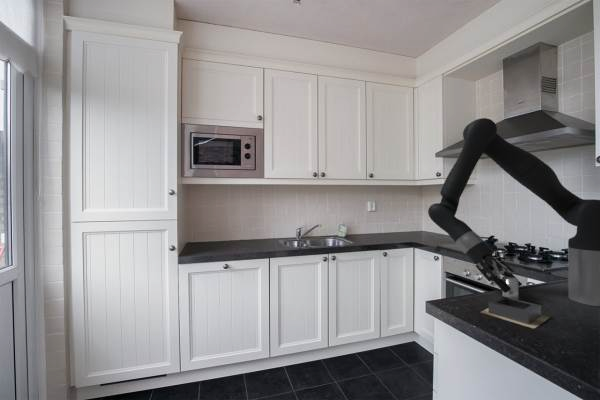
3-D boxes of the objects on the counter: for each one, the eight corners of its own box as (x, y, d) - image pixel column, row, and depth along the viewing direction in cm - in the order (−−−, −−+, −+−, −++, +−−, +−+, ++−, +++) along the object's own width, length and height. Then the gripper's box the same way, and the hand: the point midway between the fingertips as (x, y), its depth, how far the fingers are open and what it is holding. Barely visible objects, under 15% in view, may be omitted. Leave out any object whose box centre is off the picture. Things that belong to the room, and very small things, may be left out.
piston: (505, 300, 88) (505, 276, 88) (520, 304, 85) (520, 278, 85) (500, 303, 86) (500, 277, 86) (515, 307, 83) (515, 280, 83)
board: (498, 306, 83) (498, 303, 83) (550, 321, 73) (550, 317, 73) (480, 315, 77) (480, 312, 77) (534, 332, 67) (534, 328, 67)
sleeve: (502, 305, 81) (502, 295, 81) (540, 316, 74) (540, 305, 74) (488, 312, 76) (488, 301, 76) (528, 324, 69) (528, 312, 69)
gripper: (472, 242, 88) (515, 286, 79) (491, 238, 96) (533, 278, 87) (455, 255, 93) (494, 299, 83) (475, 251, 101) (513, 291, 91)
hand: (514, 288), depth 85 cm, fingers open, 8 cm apart
